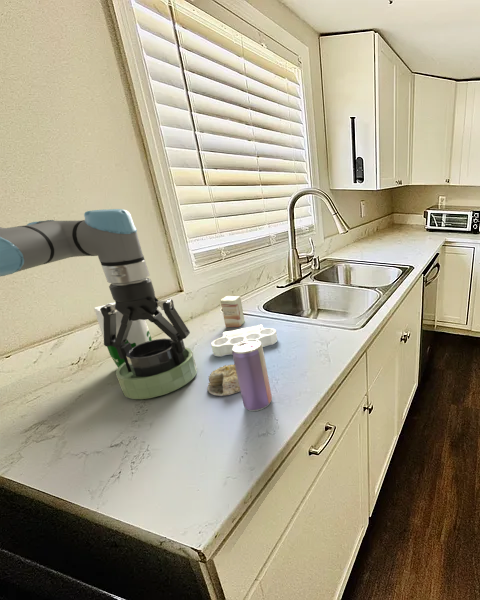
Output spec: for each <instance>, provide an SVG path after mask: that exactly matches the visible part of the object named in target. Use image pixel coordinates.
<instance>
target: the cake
mask: <svg viewBox="0 0 480 600" xmlns="http://www.w3.org/2000/svg"><path fill="white" fill-rule="evenodd" d="M207 384H208V385H207V386H206V387H207V388H206V389H207V392H208V393H209V394H211V395H212V396H213V395H214V396H217V397H218V396H219V397H222V396H223V397H224V396H230V395H234V394H237V393H241V391H240V386H239V382H238V377H237V373H236V368H235V364H234V363H233V364H228V365H227V364H225V365H223V366H219V367H218V368H217V369H215V370H212V372H211V373H210V374H209V376H208V383H207Z"/></svg>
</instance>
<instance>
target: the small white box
mask: <svg viewBox="0 0 480 600" xmlns="http://www.w3.org/2000/svg"><path fill="white" fill-rule="evenodd" d="M220 305H221V310H222V311H221V312H222V316H223V320H224V325H225V327H226V328H239V327H240V328H241V326H243V324H245V323H246V321H245V315H244V310H243V309H244V308H243V303H242V297H241V295H226V296H224V297H223V298H221V299H220Z"/></svg>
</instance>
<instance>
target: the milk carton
mask: <svg viewBox="0 0 480 600" xmlns="http://www.w3.org/2000/svg"><path fill="white" fill-rule="evenodd" d="M107 304H112V305H114V304H115V301H114V302H109V303H106V304H103V305H99V306H94V307H93V310H94V313H95V316H96V320H97V323H98V327H99V330H100V332H101V335H102V337H103V338H104V317H103V315H102V313H101V311H100V309H101V308H102V307H104V306H105V305H107ZM122 317H123V314H121V313H120V312H119V311H117V312H116V337H117V334H118V331H119V328H120V326H121V320H122ZM148 326H149V325H148V324H147V321H146V320H141V319H139V320H136V321H133V322H132V325H131V328H130V331H129V333H128V336H127V339H126V342H125V344H126V343H130V344H131V347H132V348H133V347H135V346H137V345H139V344H142V343H144V342H147V341H151V340H153V339H152V336H151V333H150V330H149V327H148ZM106 348H107V351H108V353H109V355H110V357H111V359H112V360H113V362H114V363H115V366H116V367H117V368H118V367H119V366H120V365H122V364H123V363H124V362H125V361H124V359H121V358H120V357H119V355H118V352H117V349H116V348H115V347H114V346H108V347H107V346H106Z"/></svg>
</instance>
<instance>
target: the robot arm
mask: <svg viewBox="0 0 480 600" xmlns="http://www.w3.org/2000/svg"><path fill="white" fill-rule="evenodd" d="M83 217H84V219H81V220H54V219H47V220H39V221H31V222H29V223H27V224H26V225H18V226H17V225H16V226H11V227H1V226H0V277H5V276H9V275H12V274H14V273H18V272H21V271H25V270H28V269H32V268H35V267H39V266H43V265H46V264H47V265H48V264H51V263H55V262H58V261H62V260H65V259H69V258H77V257H98V260H99V263H100V265H101V268H102V270H103V273H104V276H105V279H106V282H107V283H109V286H108V288H109V290H110V294H111V297H112V300H113V301H114V302H115V304H114V305H112V304H108V303H106V304H107V305H106V304H104V305H105V306H104V307H102V308H101V309H100V311H101V313H102V315H103V317H104V337H103V346H104V347H106V348H107V347H108V346H114V347H115V348H116V349H117V352H118V355H119V357H120V358H121V359H124V361H125V363H126V366H127V369H128V372H132V371H131V368H130V365H129V363H128V360H127V357H126V353H127V352H128V351H129V350H130V349H131V348H132V347H131V344H130V343H126V344H125V342H126V339H127V336H128V333H129V331H130V328H131V325H132V322H133V321H136V320H139V319H141V320H148V321H149V322H150V323H153V324H154V325H155V326H156V327H158V328H159V329H160V330H161V332H163V333H164V334H165V335H166V336H167V337H168V338H169V339H172V340H173V341H172V342H171V343H170V344H171V347H172V351H173V354H174V357H175V361H176V364H177V366H179V365H180V364H181V363H183V362H184V361H185V359H184V356H183V351H184V350H185V347H186V346H185V343H184V340H185V339H187V337H188V336H190V334H191V332H190V329H188V326H187V325H186V324H185V322H184V320H183V318H182V317H181V316H180V314H179V313H178V311H177V310H176V308H175V305H174V300H173V299H171V298H168V299H166V300H159V299H158V298H157V297H156V293H155V289H154V285H153V281H152V279H151V278H150V276H151V274H150V272H149V269H148V266H147V262H146V259H145V256H144V254H143V251H142V247H141V244H140V243H141V242H140V239H139V235H138V229H137V227H136V226H135V223H134V220H133V218H132V214H131V213H130V212H129V211H128V210H127V209H122V208H110V209H92V210H87V211H85V212H84V213H83ZM159 307H160V309H161V311H163V312H164V314H165V316H166V317H167V319H166V318H165V317H164V316H163V313H162V312H161V311H160V310H159V309H158V308H159ZM117 311H119V312H120V313H121V314H123V317H122V320H121V326H120V328H119V331H118V334H117V337H116V312H117Z"/></svg>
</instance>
